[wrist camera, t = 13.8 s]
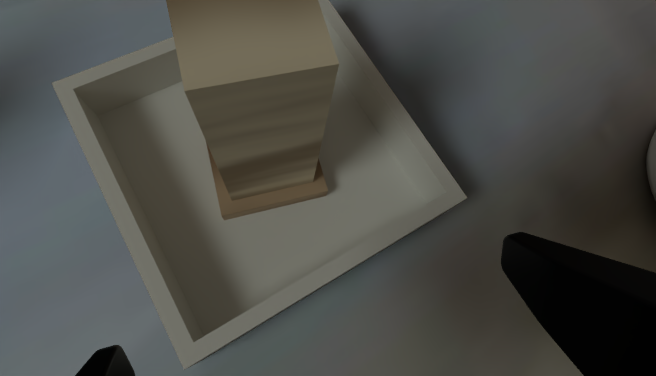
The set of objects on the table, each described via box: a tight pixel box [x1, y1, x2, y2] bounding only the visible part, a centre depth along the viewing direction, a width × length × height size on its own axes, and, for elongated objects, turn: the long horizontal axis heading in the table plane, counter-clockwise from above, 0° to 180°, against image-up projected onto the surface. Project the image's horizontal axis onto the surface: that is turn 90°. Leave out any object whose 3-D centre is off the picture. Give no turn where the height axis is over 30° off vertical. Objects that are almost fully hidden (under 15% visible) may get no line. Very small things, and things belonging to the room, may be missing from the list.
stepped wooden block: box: [166, 0, 339, 220], centre depth 18 cm, size 6×6×12 cm
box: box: [52, 0, 467, 370], centre depth 22 cm, size 16×16×4 cm
